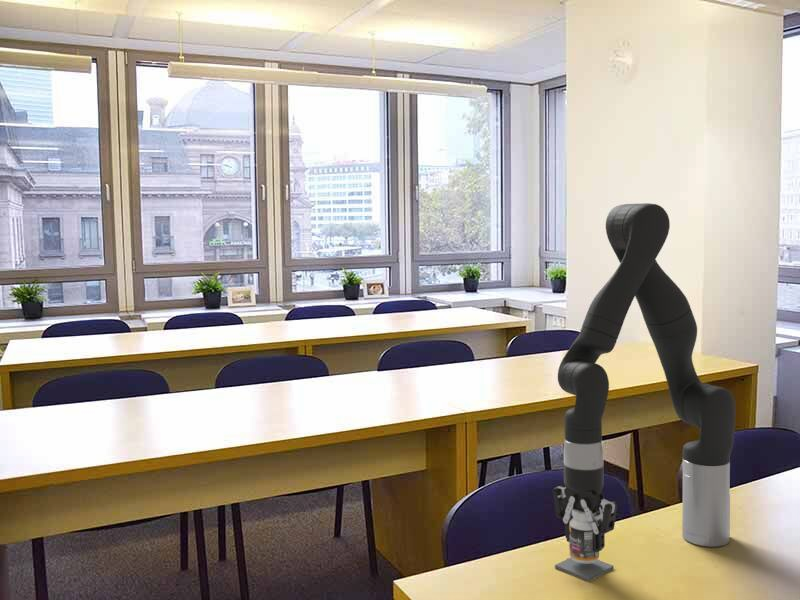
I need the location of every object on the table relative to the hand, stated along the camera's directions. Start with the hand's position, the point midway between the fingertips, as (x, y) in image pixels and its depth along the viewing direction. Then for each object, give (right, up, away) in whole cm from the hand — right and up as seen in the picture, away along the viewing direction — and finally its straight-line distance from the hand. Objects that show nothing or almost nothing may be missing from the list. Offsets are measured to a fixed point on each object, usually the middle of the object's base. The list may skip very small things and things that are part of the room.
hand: (584, 545), depth 146 cm
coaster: (0, -5, 0) cm, 5 cm away
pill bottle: (0, -3, 0) cm, 3 cm away
